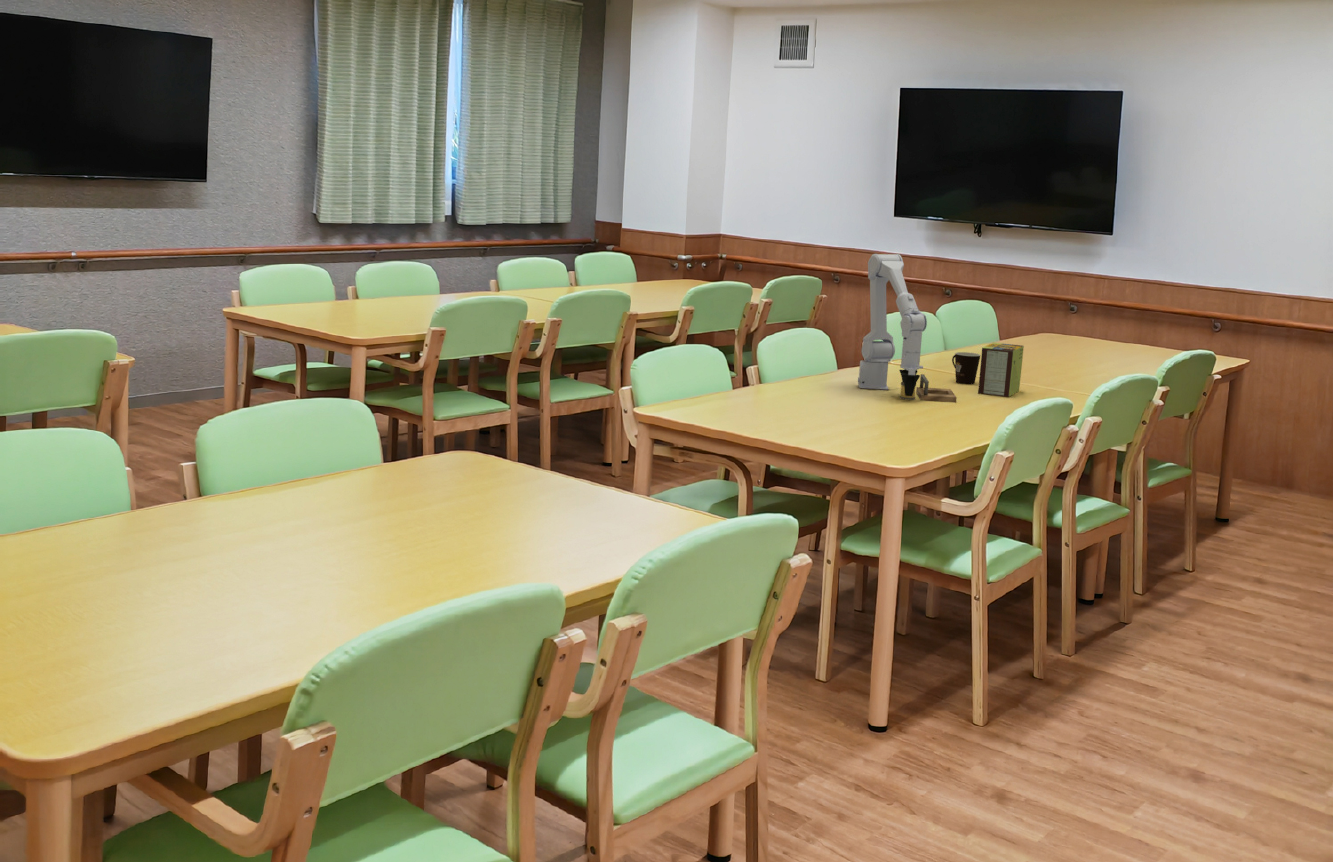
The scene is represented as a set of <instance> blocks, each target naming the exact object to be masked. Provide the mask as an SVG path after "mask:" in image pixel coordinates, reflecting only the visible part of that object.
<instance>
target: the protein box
mask: <svg viewBox="0 0 1333 862" xmlns="http://www.w3.org/2000/svg"><path fill="white" fill-rule="evenodd" d="M1024 347H1025V346H1024V345H1019V344H1011V343H1000V342H992V343H989V344H987V345H984V346H983V347H982V348H981V356H980V369H979V379H978V389H977V390H978V392H977V394H979V393H981V395H987V396H997V397H1004V398H1010V397H1011V396H1012V395H1014V394H1016V393H1018V392H1019V391H1020V386H1021V376H1022V368H1023V367H1022V366H1023V357H1024Z"/></svg>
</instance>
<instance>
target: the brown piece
mask: <svg viewBox="0 0 1333 862" xmlns="http://www.w3.org/2000/svg"><path fill="white" fill-rule="evenodd" d="M919 379H920V381H919V386H916V387H915V394H917V396H918V398H919V400H920V401H929V402H945V403H947V402H949V403H957V398H958V397H957V396H956V395H955V393H954V391H953V390H952V389H951V388H939V387H937V388H936V387H929V384H930V381H929V380H928V378H927V377H926V375H925V374H923V373H922V374H920V377H919Z"/></svg>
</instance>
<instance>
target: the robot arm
mask: <svg viewBox="0 0 1333 862" xmlns="http://www.w3.org/2000/svg"><path fill="white" fill-rule="evenodd" d="M902 257H903V256H901V255H900V254H898V253H896V254H888V253H886V254H883V253H882V254H879V253H873V254H872V255H871V256H870V258H869V259H868V261H867V279H868V280H869V295H870V296H869V299H870V301H869V302H870V303H869V306H870V310H869V311H870V312H869V313H870V331H869V332H868V333H867V334H866V335H865V336H864V337H862V346H861V355H862V357H863V359H864V360H860V361H859V372H858V377H857V384H858V388H859V389H869V390H870V389H871V390H885V391H887V390H889V386H888V384H887V383H888V373H889V363H890V362H892V361H891V360H892V359H893V358H894V356H895V353H896V347H895V344H894V337H893V336H892V335H891V334H890V333H889V331H888V329H887V328H888V327H887V323H888V322H887V316H888V315H887V313H888V312H887V283H888V282H889V283H890V284H891V286H892V288H893V291H894V292H895V294H896V296H897V297H896V299H895V304H896V306H897V310H898V311H899V314H900V317H901V321H900V323H899V325H900V329H901V337H902V346H901V347H902V348H901V358H900V359H901V360H900V366H899V367H900V368H901V369H899V373H900V376H901V382H904V389H905V396H912V395H913V392H914V388H915V389H916V386H917V382H918V380H919V379H920V377H921V374H917V373H918V370H920V369H921V370H922V369H924V366H923V365H920V362H921V351H922V341H923V340H922V337H923V332H924V331H926V329H927V326H928V319H927V316H926V314H925V313H923V312H922V311H921V310H920V309H919V308H918V305H917V302H916V300H915V298H914V295H913V294H912V293H910V292H909V291H908V287H907V285H906V284H907V283H906V281H905V278H904V274H903V271H904V266H905V263H904V259H903V258H902ZM915 385H916V386H915Z"/></svg>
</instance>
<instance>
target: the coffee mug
mask: <svg viewBox="0 0 1333 862" xmlns="http://www.w3.org/2000/svg"><path fill="white" fill-rule="evenodd" d="M981 356H982V354H979V353H974V352H967V351H966V352H965V351H962V352H961V351H960V352H958V351H957V352H954V355H953V356H952V358H951V361H952V365H953V368H954V369H955V371H954V372H955V383H956V384H960V385H974V384H976V383H975V382H976V379H977V373H978V369H979V364H980V361H981Z"/></svg>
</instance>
